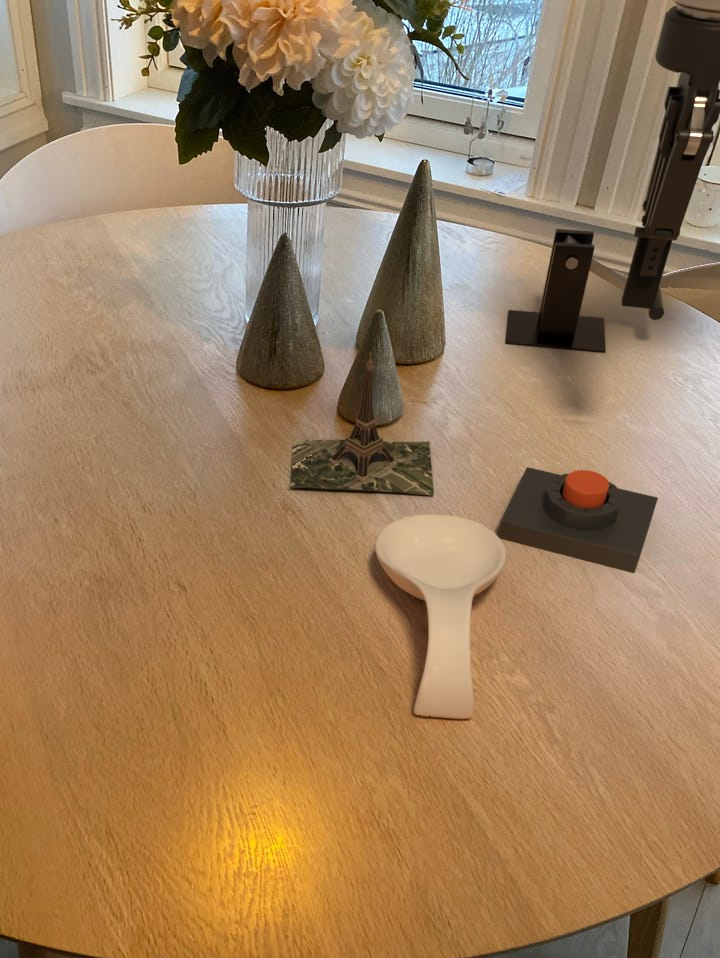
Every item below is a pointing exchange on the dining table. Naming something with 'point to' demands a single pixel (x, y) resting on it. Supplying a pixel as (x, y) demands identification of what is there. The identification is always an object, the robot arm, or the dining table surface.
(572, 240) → the lever
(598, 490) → the button
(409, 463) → the eiffel tower figurine
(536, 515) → the button box
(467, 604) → the spoon rest
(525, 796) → the dining table surface
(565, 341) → the bracket
